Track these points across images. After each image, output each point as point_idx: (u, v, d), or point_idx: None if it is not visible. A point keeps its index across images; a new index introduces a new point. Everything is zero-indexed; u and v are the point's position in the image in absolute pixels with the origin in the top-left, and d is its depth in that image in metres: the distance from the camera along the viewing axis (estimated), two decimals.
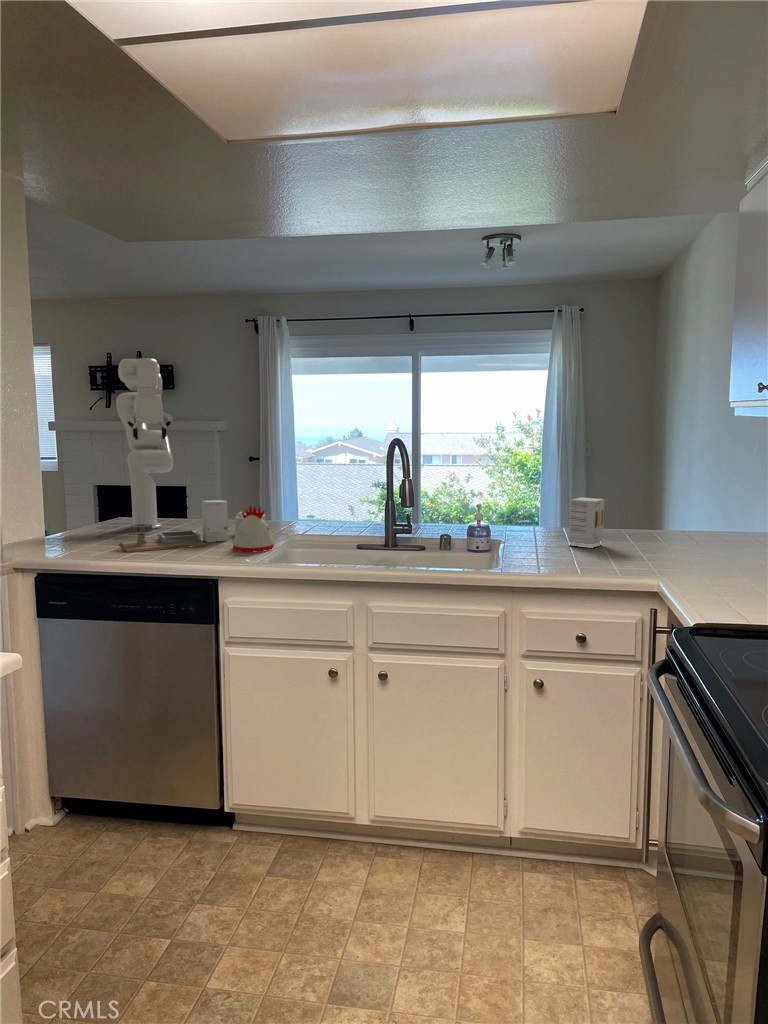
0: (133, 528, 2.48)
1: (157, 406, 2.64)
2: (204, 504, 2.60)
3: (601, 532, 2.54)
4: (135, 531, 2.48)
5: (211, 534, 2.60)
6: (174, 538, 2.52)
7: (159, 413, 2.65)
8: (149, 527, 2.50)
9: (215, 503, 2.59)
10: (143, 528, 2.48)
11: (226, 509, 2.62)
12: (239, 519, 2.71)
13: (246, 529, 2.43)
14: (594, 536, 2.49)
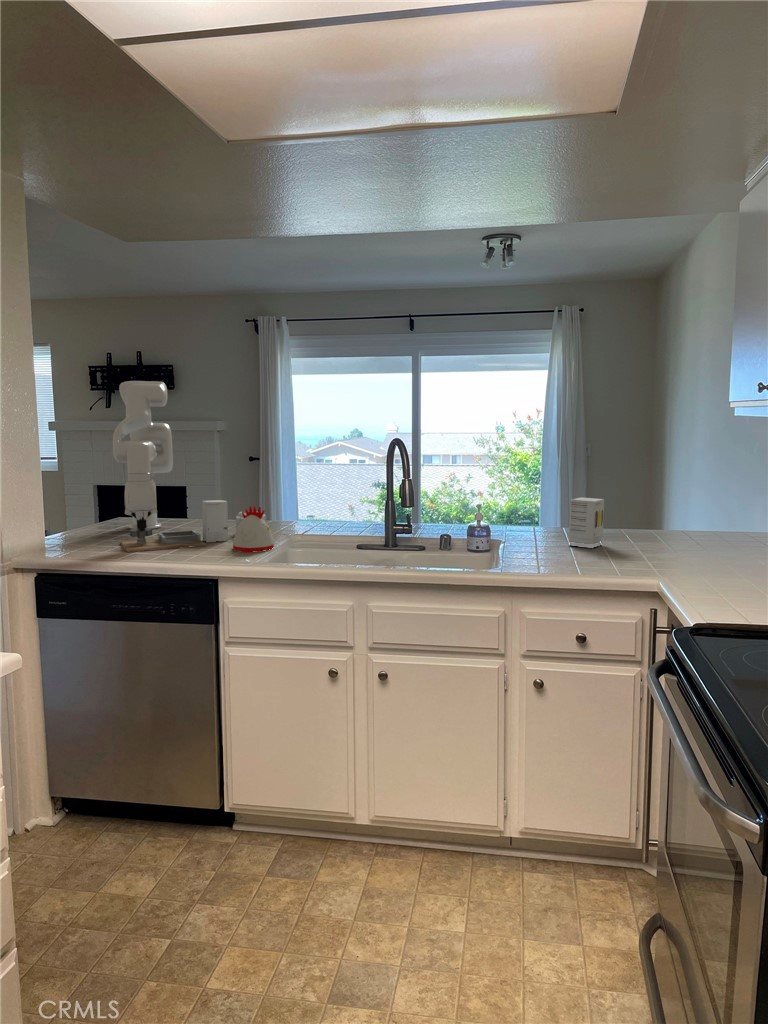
0: (133, 532, 2.48)
1: (149, 492, 2.46)
2: (204, 504, 2.60)
3: (601, 532, 2.54)
4: (135, 535, 2.48)
5: (211, 534, 2.60)
6: (174, 538, 2.52)
7: (151, 500, 2.47)
8: (149, 531, 2.51)
9: (215, 503, 2.59)
10: (143, 532, 2.49)
11: (226, 509, 2.62)
12: (240, 519, 2.71)
13: (246, 529, 2.43)
14: (594, 536, 2.49)
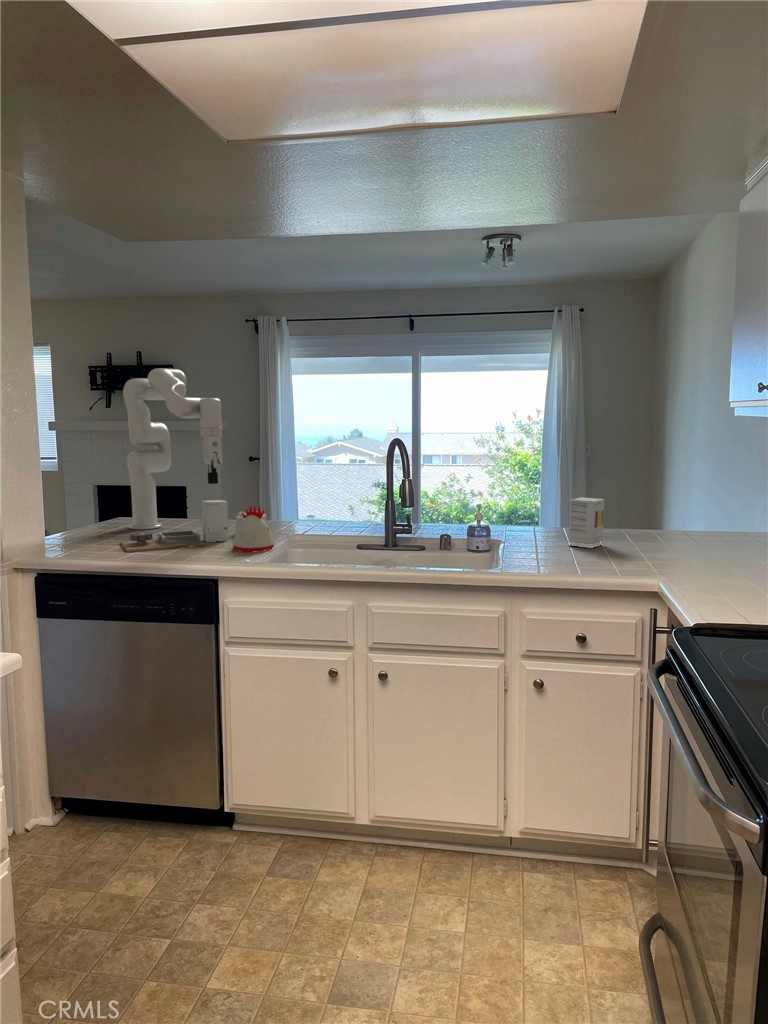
0: (133, 536, 2.49)
1: (206, 446, 2.55)
2: (204, 504, 2.60)
3: (601, 532, 2.54)
4: (135, 539, 2.49)
5: (211, 534, 2.60)
6: (174, 538, 2.52)
7: (207, 454, 2.55)
8: (149, 535, 2.51)
9: (215, 503, 2.59)
10: (143, 536, 2.49)
11: (226, 509, 2.62)
12: (240, 519, 2.71)
13: (246, 529, 2.43)
14: (594, 536, 2.49)
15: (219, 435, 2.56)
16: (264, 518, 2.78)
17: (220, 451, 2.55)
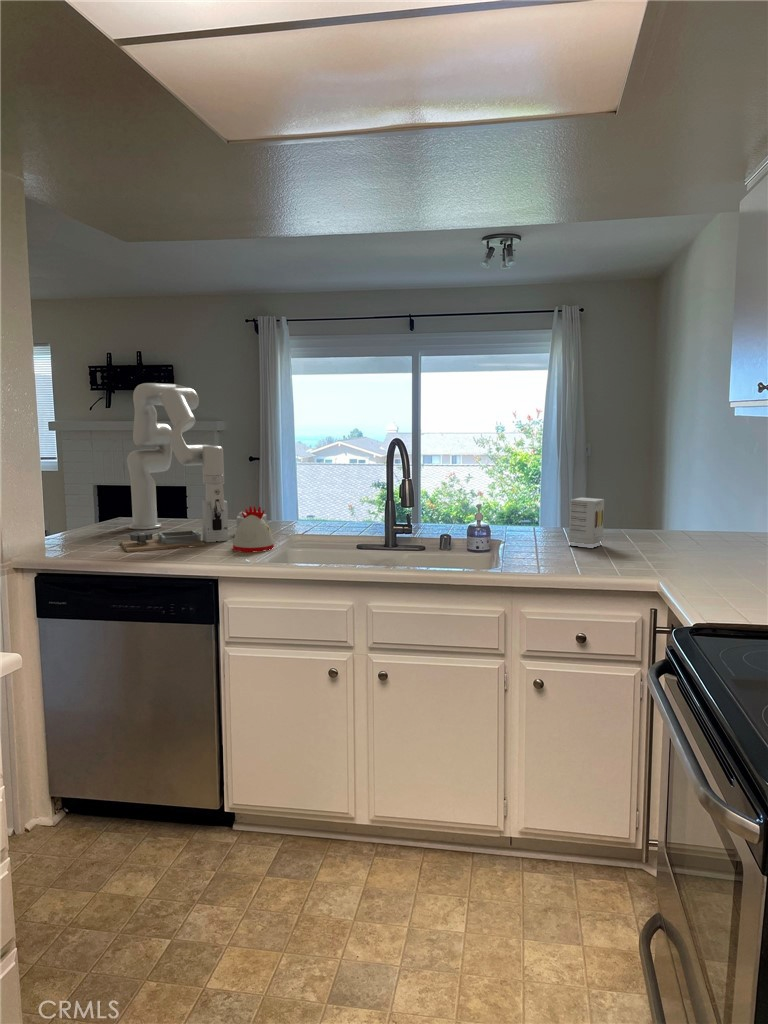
0: (133, 536, 2.49)
1: (209, 494, 2.58)
2: (204, 504, 2.59)
3: (601, 532, 2.54)
4: (135, 539, 2.49)
5: (211, 534, 2.60)
6: (174, 538, 2.52)
7: (210, 501, 2.58)
8: (149, 535, 2.51)
9: None
10: (143, 536, 2.49)
11: (226, 509, 2.62)
12: (240, 519, 2.71)
13: (246, 529, 2.43)
14: (594, 536, 2.49)
15: (221, 482, 2.59)
16: (264, 518, 2.78)
17: (222, 498, 2.58)
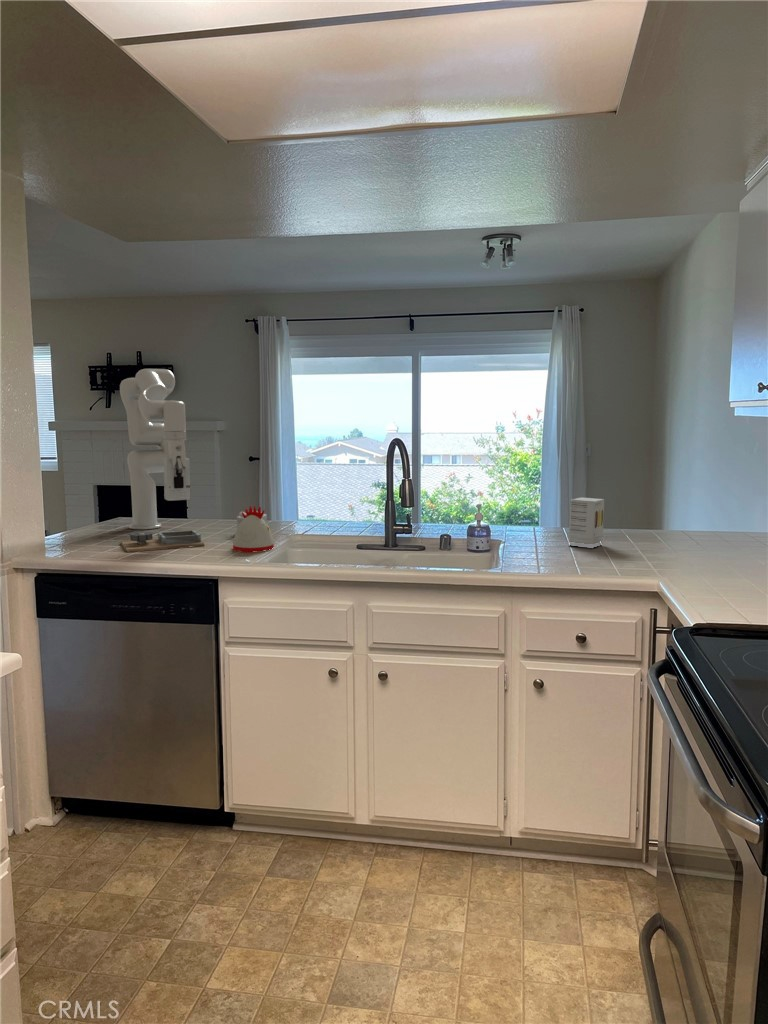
0: (133, 536, 2.49)
1: (170, 450, 2.50)
2: (165, 461, 2.52)
3: (601, 532, 2.54)
4: (135, 539, 2.49)
5: (172, 492, 2.52)
6: (174, 538, 2.52)
7: (171, 458, 2.50)
8: (149, 535, 2.51)
9: None
10: (143, 536, 2.49)
11: (188, 467, 2.54)
12: (241, 519, 2.71)
13: (246, 529, 2.43)
14: (594, 536, 2.49)
15: (183, 439, 2.51)
16: (265, 518, 2.78)
17: (184, 455, 2.50)
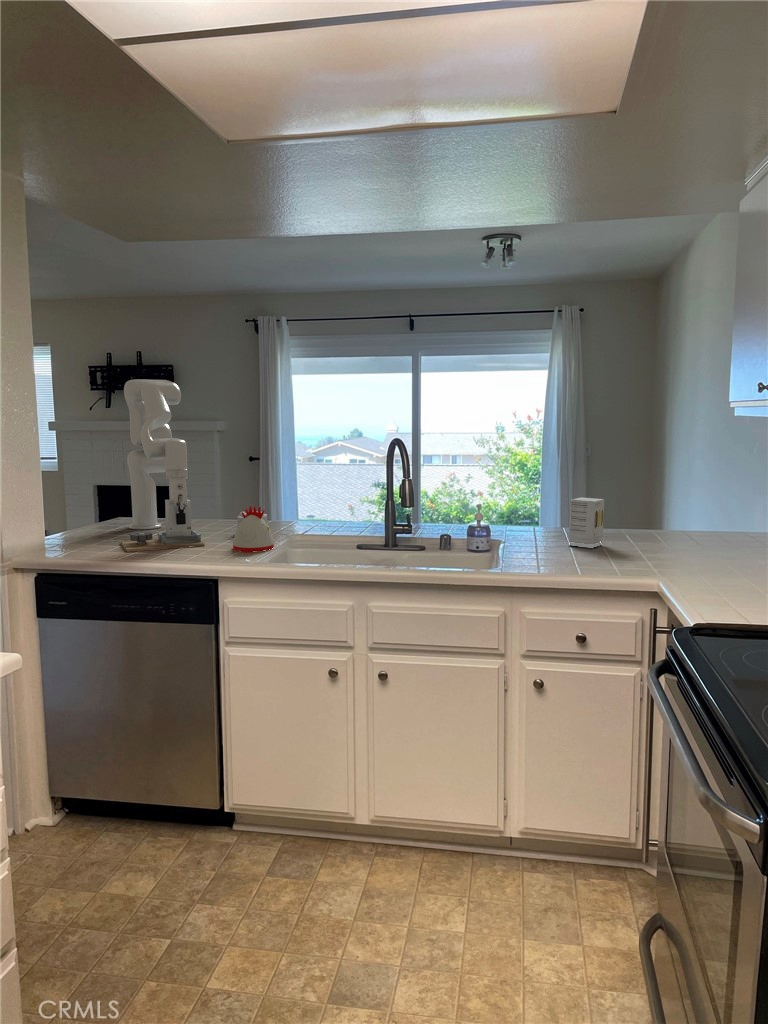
0: (133, 536, 2.49)
1: (171, 489, 2.52)
2: (167, 503, 2.54)
3: (601, 532, 2.54)
4: (135, 539, 2.49)
5: (174, 533, 2.54)
6: (174, 538, 2.52)
7: (172, 497, 2.52)
8: (149, 535, 2.51)
9: None
10: (143, 536, 2.49)
11: (189, 508, 2.56)
12: (241, 519, 2.71)
13: (246, 529, 2.43)
14: (594, 536, 2.49)
15: (184, 477, 2.53)
16: (265, 518, 2.78)
17: (185, 493, 2.52)
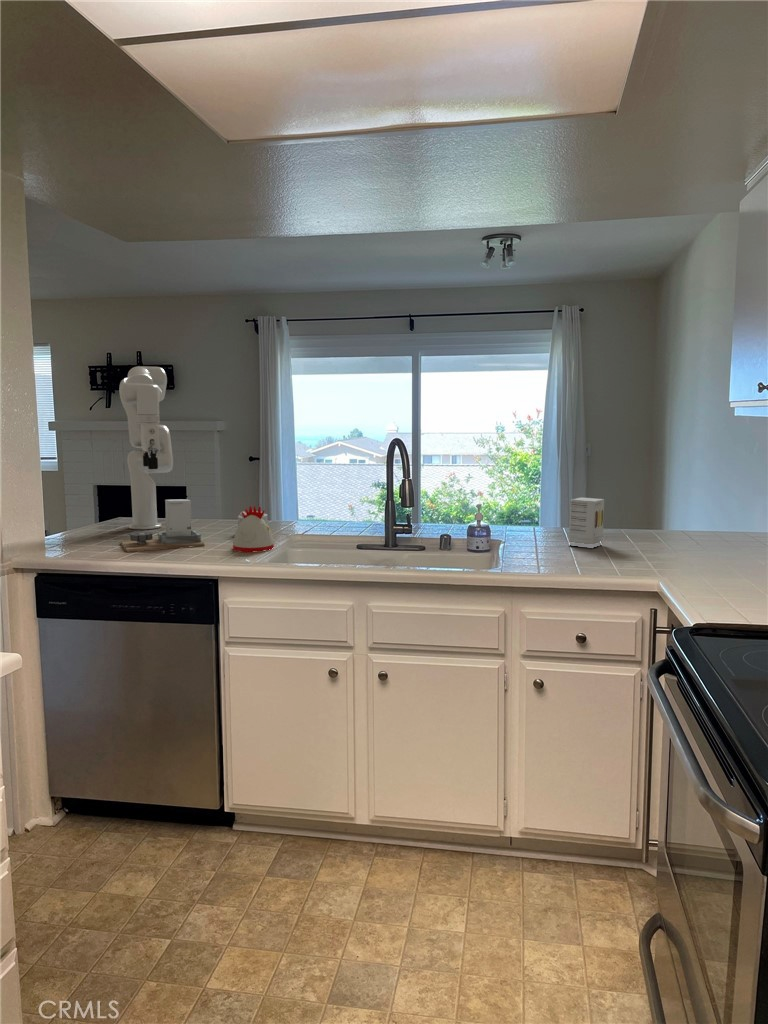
0: (133, 536, 2.49)
1: (143, 434, 2.52)
2: (167, 503, 2.54)
3: (601, 532, 2.54)
4: (135, 539, 2.49)
5: (174, 533, 2.54)
6: (174, 538, 2.52)
7: (144, 441, 2.52)
8: (149, 535, 2.51)
9: (178, 502, 2.54)
10: (143, 536, 2.49)
11: (189, 508, 2.56)
12: (242, 519, 2.72)
13: (246, 529, 2.43)
14: (594, 536, 2.49)
15: (156, 422, 2.53)
16: (265, 518, 2.78)
17: (157, 438, 2.52)
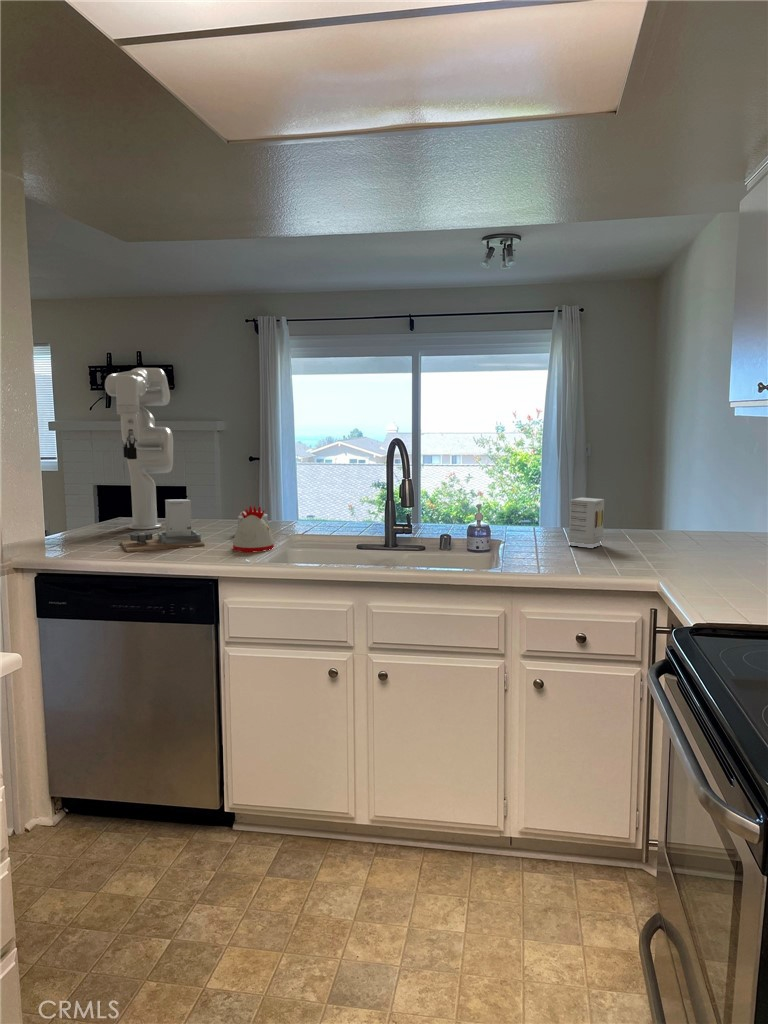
0: (133, 536, 2.49)
1: (122, 424, 2.53)
2: (167, 503, 2.54)
3: (601, 532, 2.54)
4: (135, 539, 2.49)
5: (174, 533, 2.54)
6: (174, 538, 2.52)
7: (123, 432, 2.53)
8: (149, 535, 2.51)
9: (178, 502, 2.54)
10: (143, 536, 2.49)
11: (189, 508, 2.56)
12: (242, 519, 2.72)
13: (246, 529, 2.43)
14: (594, 536, 2.49)
15: (135, 413, 2.54)
16: (266, 518, 2.78)
17: (136, 429, 2.53)
